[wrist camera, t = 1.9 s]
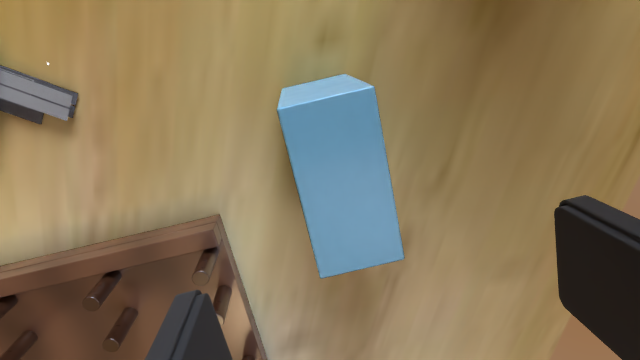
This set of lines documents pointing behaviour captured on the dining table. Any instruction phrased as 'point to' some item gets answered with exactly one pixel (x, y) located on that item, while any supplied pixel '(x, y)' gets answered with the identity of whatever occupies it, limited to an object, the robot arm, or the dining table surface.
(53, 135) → the dining table surface
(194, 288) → the rack
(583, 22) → the dining table surface
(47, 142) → the dining table surface
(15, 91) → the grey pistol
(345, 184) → the carton
